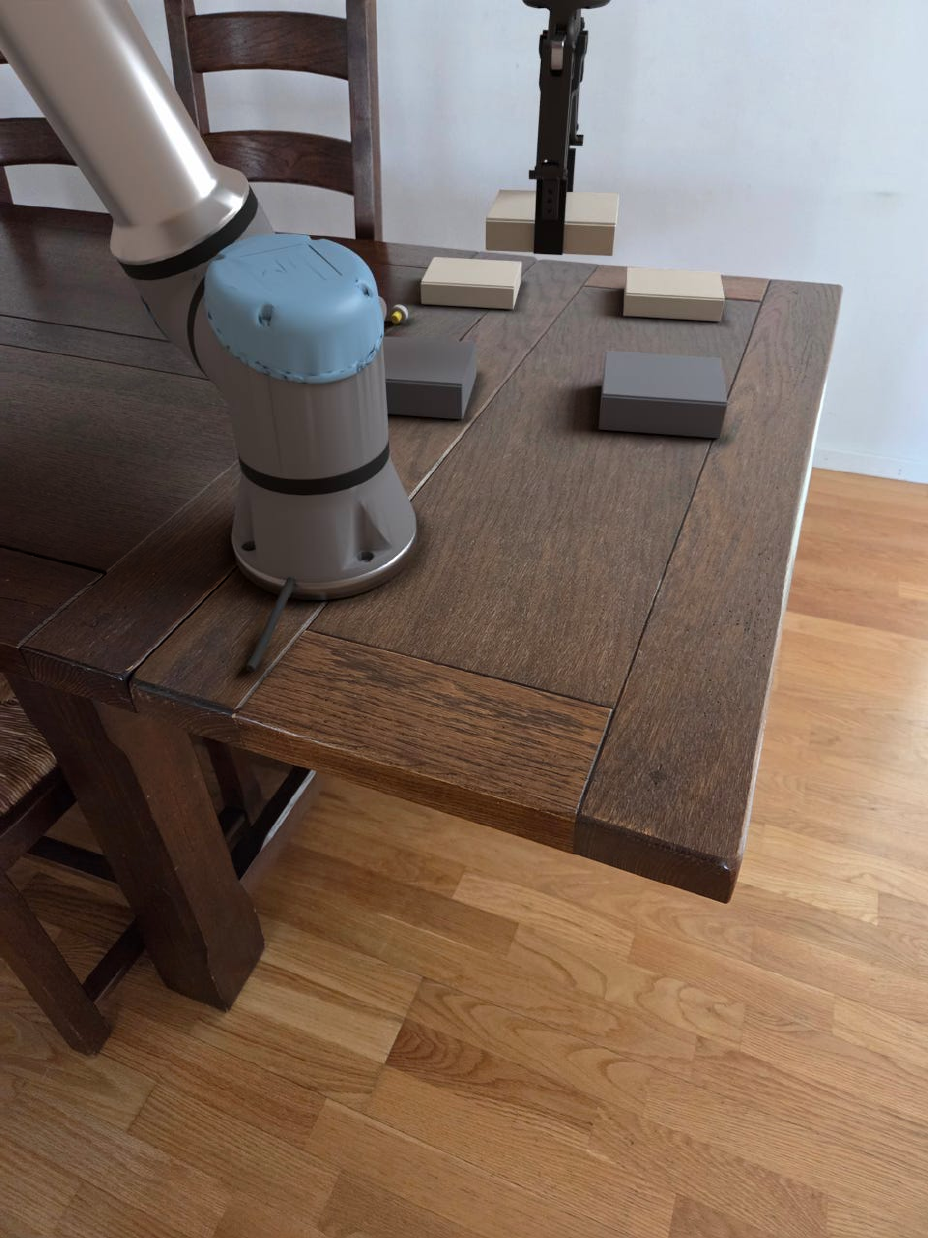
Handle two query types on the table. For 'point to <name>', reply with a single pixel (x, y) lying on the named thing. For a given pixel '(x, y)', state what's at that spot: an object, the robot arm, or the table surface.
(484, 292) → the cream flat block
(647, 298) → the cream lidded box
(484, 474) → the table surface
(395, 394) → the grey lidded box
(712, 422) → the dark grey box
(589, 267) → the table surface
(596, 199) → the beige flat box
